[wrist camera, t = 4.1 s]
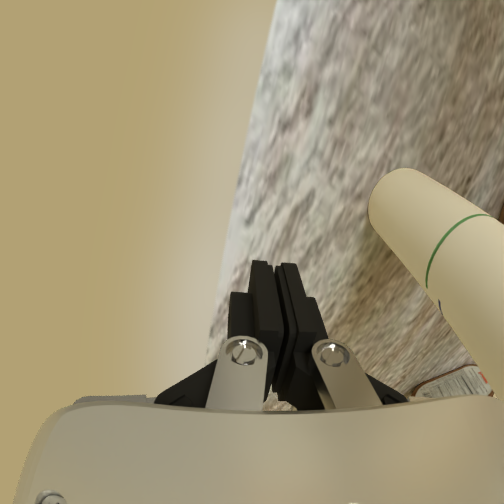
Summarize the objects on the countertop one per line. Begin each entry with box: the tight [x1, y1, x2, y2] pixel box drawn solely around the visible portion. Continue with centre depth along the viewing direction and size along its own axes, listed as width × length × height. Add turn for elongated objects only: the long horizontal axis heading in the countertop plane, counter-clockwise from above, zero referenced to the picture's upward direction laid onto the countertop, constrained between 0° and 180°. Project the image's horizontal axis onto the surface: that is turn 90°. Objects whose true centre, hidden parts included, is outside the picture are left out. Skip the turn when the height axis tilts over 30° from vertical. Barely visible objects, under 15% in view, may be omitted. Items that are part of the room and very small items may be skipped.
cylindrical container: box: [368, 168, 504, 402], centre depth 16 cm, size 7×7×25 cm
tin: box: [411, 364, 494, 398], centre depth 37 cm, size 15×3×8 cm, turn 104°
